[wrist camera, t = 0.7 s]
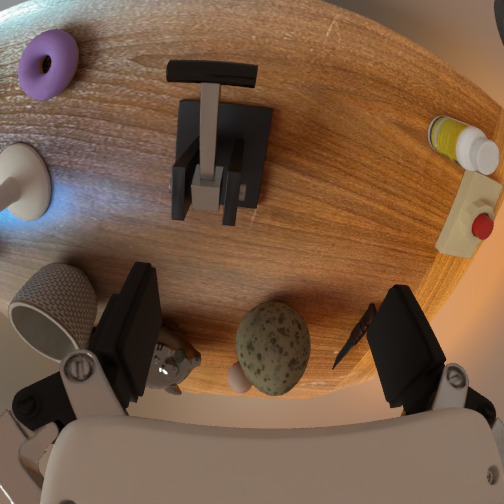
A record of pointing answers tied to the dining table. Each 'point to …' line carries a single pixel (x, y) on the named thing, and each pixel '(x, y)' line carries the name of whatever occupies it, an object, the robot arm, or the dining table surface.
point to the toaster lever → (210, 119)
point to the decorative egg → (273, 347)
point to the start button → (482, 226)
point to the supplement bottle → (463, 144)
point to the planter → (55, 310)
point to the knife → (357, 332)
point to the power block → (468, 214)
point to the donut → (61, 68)
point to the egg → (238, 379)
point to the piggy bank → (171, 360)
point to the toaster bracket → (222, 156)
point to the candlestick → (24, 182)
